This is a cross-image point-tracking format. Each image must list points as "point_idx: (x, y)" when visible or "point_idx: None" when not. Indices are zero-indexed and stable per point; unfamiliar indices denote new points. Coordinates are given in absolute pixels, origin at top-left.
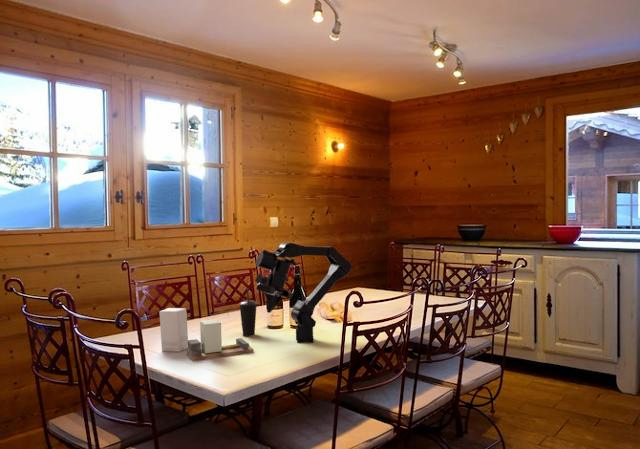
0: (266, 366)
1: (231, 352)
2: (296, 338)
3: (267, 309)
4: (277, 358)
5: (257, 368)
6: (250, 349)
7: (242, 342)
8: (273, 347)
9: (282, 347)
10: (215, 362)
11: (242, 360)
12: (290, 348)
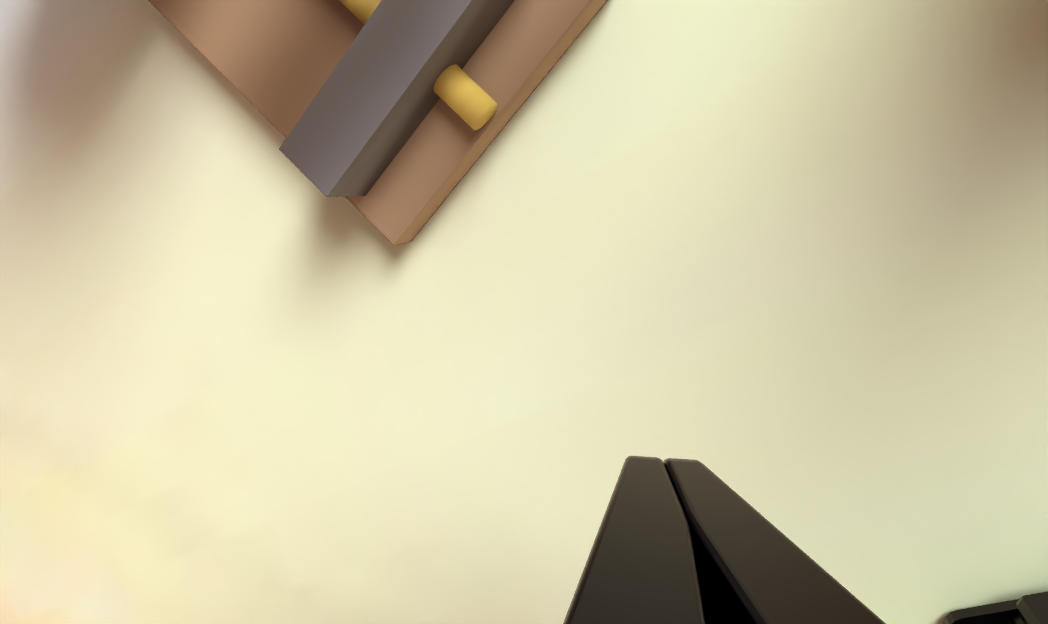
0: (113, 536)
1: (218, 67)
2: (1023, 616)
3: (607, 514)
4: (309, 557)
5: (56, 487)
6: (370, 218)
7: (334, 94)
8: (653, 381)
9: None
10: (32, 61)
11: (158, 273)
12: None
